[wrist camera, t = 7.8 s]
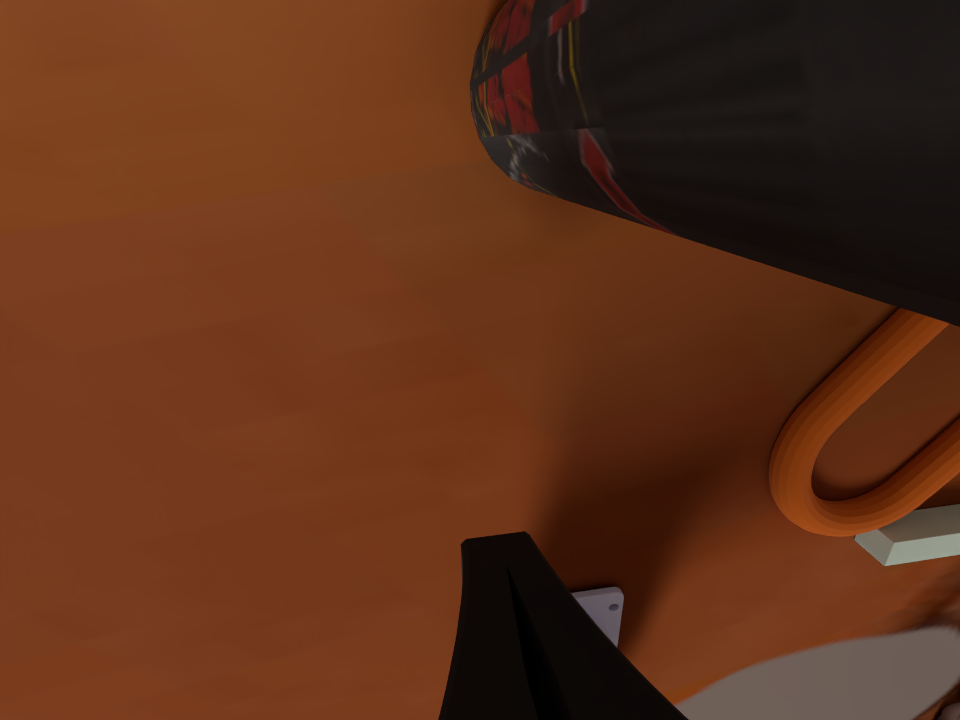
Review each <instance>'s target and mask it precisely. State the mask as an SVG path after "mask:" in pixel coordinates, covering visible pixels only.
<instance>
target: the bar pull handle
mask: <svg viewBox="0 0 960 720" xmlns="http://www.w3.org/2000/svg"><path fill="white" fill-rule="evenodd" d="M854 540H855V541H856V542H857V543H858V544H860V545H861V546H862V547H863V548H864V549H865V550H867V551H868V552H869V553H870V554H871V555H872V556H873V557H875V558H876V559H877V560H878V561H879V562H880V563H882V564H883V565H884V566H888V565H895V564H901V563H908V562H914V561H920V560H927V559H933V558H940V557H946V556H952V555H959V554H960V504H956V505H949V506H941V507H934V508H927V509H920V510H913V511H911V512H910V513H908V514H907V515H905V516H903V517H902V518H900V519H898V520H896V521H894V522H892V523H890V524H888V525H886V526H883V527H881V528H878V529H876V530H873V531H870V532H866V533H862V534H858V535H856V536H855V539H854Z"/></svg>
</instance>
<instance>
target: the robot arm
mask: <svg viewBox="0 0 960 720" xmlns="http://www.w3.org/2000/svg"><path fill="white" fill-rule="evenodd" d="M461 559H462V581H463V584H462V597H461V606H460V613H459V621H458V628H457V635H456V641H455V646H454V651H453V656H452V661H451V666H450V671H449V676H448V681H447V686H446V690H445V695H444V699H443V703H442V707H441V711H440V715H439V719H438V720H688V719H687V718H686V717H685V716H684V715H683V714H682V713H681V712H680V711H679V710H678V709H677V708H675V707H674V706H673V705H672V704H671V703H670V702H669V701H668V700H667V699H666V698H665V697H664V696H663V695H662V694H661V693H660V692H659V691H658V690H657V689H656V688H655V687H654V686H653V685H652V684H651V683H650V682H649V681H648V680H647V679H646V678H645V677H644V676H643V675H642V674H641V673H640V672H639V671H638V670H637V669H636V668H635V667H634V666H633V664H632V663H631V662H630V661H629V660H628V659H627V658H626V657H625V656H624V655H623V654H622V653H621V651H620V650H619V649H618V648H617V646H618V638H619V631H620V623H621V616H622V608H623V601H624V595H623V593H622V591H621V590H620V588H618V587H608V588H602V589H595V590H588V591H582V592H575V593H570V591H569V590H568V589H567V587H566V586H565V585H564V584H563V582H562V581H561V580H560V578H559V577H558V576H557V574H556V573H555V571H554V570H553V569H552V567H551V566H550V565H549V563H548V562H547V560H546V559H545V558H544V556H543V555H542V553H541V552H540V550H539V549H538V547H537V546H536V544H535V543H534V541H533V540H532V538H531V536H530V535H529V534H528V533H526V532H525V531H524V532H517V533H509V534H501V535H494V536H486V537H478V538H471V539H466V540H465V541H464V542H463V543H462V544H461Z"/></svg>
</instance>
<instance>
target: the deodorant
mask: <svg viewBox="0 0 960 720" xmlns="http://www.w3.org/2000/svg"><path fill="white" fill-rule="evenodd" d="M470 92H471V112H472V115H473V119H474V122H475V126H476V129H477V133H478V136H479V139H480V140H481V142H482V144H483V145H484V147H485V149H486V151H487V152H488V154H489V156H490V158H491V159H492V160H493V161H494V163H495V164H496V165H497V166H498V167H499V168H500V169H501V170H502V171H503V172H504V173H505V174H506V175H507V176H508V177H510V178H512V179H514V180H515V181H517V182H519V183H521V184H522V185H524V186H526V187H528V188H530V189H533V190H536V191H540V192H543V193H546V194H549V195H552V196H555V197H558V198H561V199H564V200H568V201H571V202H574V203H577V204H580V205H583V206H586V207H589V208H592V209H595V210H599V211H602V212H605V213H608V214H611V215H614V216H617V217H620V218H623V219H627V220H630V221H633V222H636V223H639V224H642V225H645V226H648V227H651V228H655V229H658V230H661V231H664V232H667V233H670V234H673V235H676V236H679V237H682V238H686V239H689V240H692V241H695V242H698V243H701V244H704V245H707V246H710V247H714V248H717V249H720V250H723V251H726V252H729V253H732V254H735V255H738V256H742V257H745V258H748V259H751V260H754V261H757V262H760V263H763V264H766V265H770V266H773V267H776V268H779V269H782V270H785V271H788V272H791V273H794V274H797V275H801V276H804V277H807V278H810V279H813V280H816V281H819V282H822V283H825V284H829V285H832V286H835V287H838V288H841V289H844V290H847V291H850V292H853V293H857V294H860V295H863V296H866V297H869V298H872V299H875V300H878V301H881V302H885V303H888V304H891V305H894V306H897V307H900V308H903V309H906V310H909V311H912V312H916V313H919V314H922V315H925V316H928V317H931V318H934V319H937V320H940V321H944V322H947V323H950V324H953V325H956V326H959V327H960V0H508V1H507V2H506V3H505V5H504V6H503V7H502V8H501V10H500V11H499V12H498V14H497V15H496V16H495V17H494V19H493V20H492V21H491V22H490V24H489V25H488V26H487V28H486V31H485V33H484V35H483V37H482V40H481V42H480V44H479V47H478V49H477V51H476V54H475V59H474V64H473V70H472V75H471V80H470Z"/></svg>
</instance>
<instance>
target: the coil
mask: <svg viewBox="0 0 960 720" xmlns="http://www.w3.org/2000/svg"><path fill="white" fill-rule="evenodd" d="M937 720H960V702H958V703H954V704H951V705H948V706H946V707H945V708H944V709H943V710H942V714H941V716H939V717H938V718H937Z"/></svg>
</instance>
